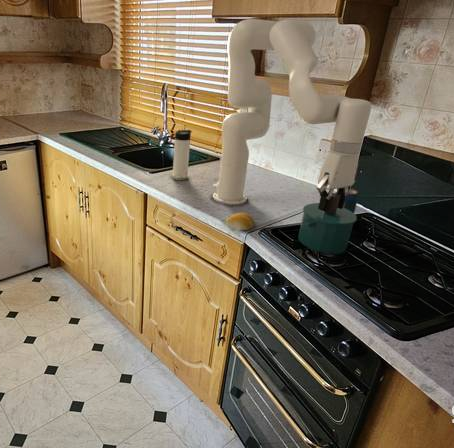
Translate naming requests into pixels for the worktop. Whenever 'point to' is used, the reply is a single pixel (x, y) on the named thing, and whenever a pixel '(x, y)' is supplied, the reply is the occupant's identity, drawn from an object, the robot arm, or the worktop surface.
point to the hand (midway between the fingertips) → (330, 208)
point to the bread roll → (240, 221)
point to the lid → (330, 213)
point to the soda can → (351, 200)
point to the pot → (324, 236)
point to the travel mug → (181, 154)
